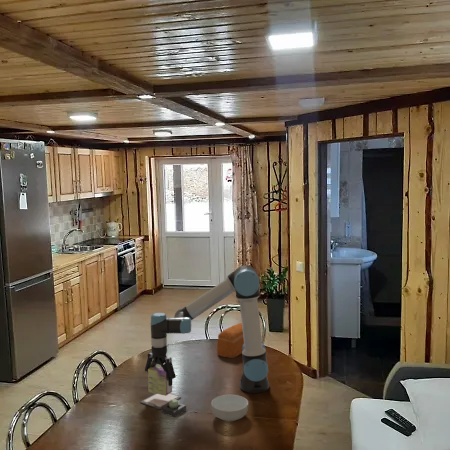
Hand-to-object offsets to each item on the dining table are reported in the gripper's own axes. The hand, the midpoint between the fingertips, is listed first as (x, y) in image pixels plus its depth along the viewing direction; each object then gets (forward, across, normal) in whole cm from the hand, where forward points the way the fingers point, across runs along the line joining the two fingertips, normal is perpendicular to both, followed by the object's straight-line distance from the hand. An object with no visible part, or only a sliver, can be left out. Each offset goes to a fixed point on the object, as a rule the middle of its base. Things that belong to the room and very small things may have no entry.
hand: (160, 388), depth 236 cm
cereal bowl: (+6, -38, -5) cm, 39 cm away
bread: (+6, +8, -77) cm, 78 cm away
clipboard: (+6, 0, 0) cm, 6 cm away
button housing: (+6, -13, +5) cm, 15 cm away
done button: (+3, -13, +5) cm, 14 cm away
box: (+2, 0, 0) cm, 2 cm away
